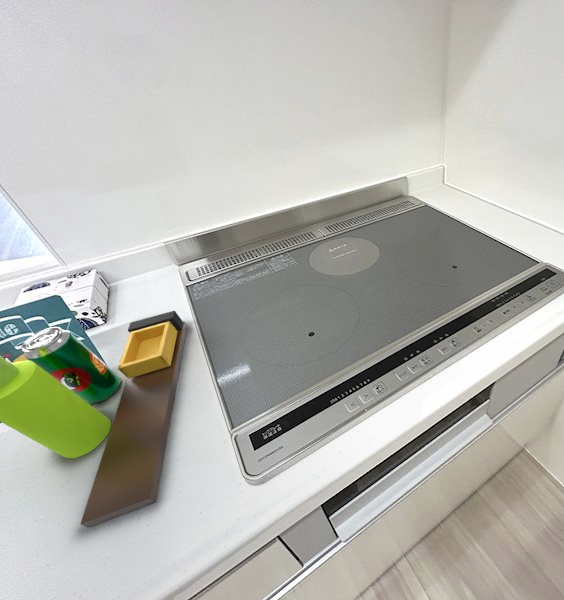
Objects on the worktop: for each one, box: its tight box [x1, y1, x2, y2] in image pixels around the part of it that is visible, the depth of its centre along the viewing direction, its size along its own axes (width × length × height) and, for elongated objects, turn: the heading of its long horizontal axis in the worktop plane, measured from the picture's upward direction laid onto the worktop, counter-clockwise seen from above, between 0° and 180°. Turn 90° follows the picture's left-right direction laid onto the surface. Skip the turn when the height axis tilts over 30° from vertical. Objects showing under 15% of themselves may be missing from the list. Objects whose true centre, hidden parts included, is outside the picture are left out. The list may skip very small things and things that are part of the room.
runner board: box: [80, 320, 188, 528], centre depth 48 cm, size 31×7×1 cm, turn 20°
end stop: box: [127, 310, 184, 333], centre depth 57 cm, size 2×7×3 cm, turn 110°
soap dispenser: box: [0, 355, 112, 459], centre depth 39 cm, size 6×7×20 cm
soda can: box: [20, 326, 121, 404], centre depth 47 cm, size 5×5×12 cm
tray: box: [117, 321, 178, 379], centre depth 53 cm, size 8×6×3 cm
